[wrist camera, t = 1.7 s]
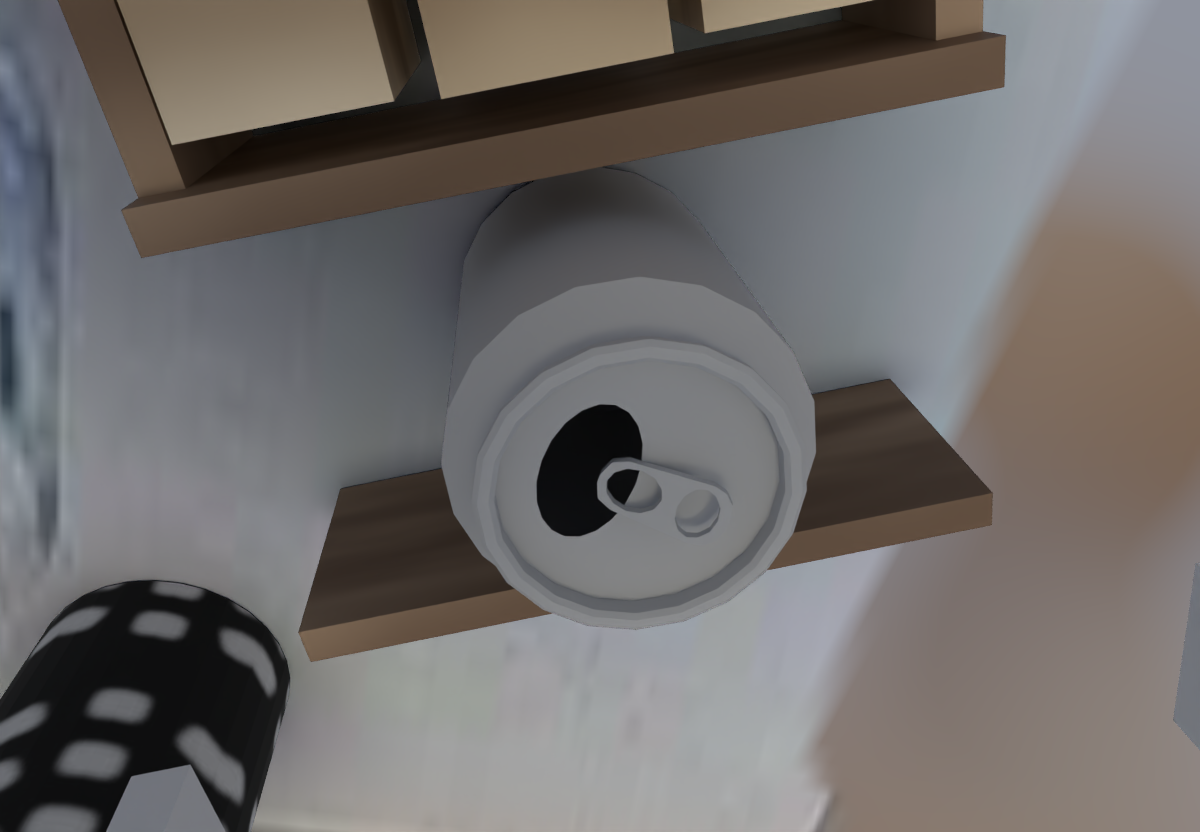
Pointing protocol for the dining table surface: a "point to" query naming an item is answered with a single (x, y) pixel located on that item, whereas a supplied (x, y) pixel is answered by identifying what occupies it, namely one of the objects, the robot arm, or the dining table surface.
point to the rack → (534, 151)
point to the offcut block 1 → (268, 59)
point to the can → (620, 407)
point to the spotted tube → (140, 707)
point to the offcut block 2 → (537, 39)
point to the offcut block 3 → (743, 11)
